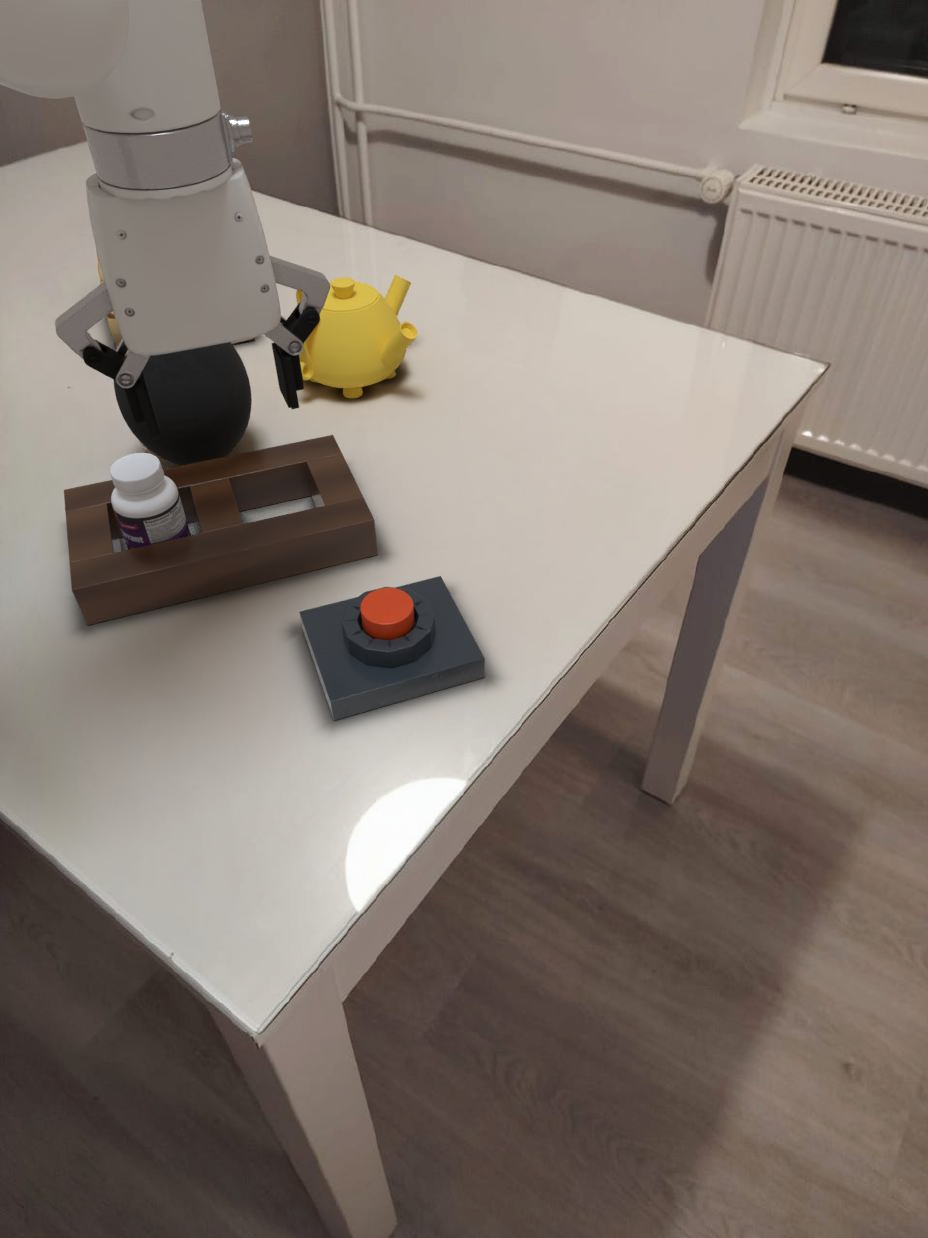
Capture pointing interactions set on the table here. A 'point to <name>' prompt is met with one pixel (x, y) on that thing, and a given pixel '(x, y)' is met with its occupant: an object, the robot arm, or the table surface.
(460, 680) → the dark grey flat piece
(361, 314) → the teapot
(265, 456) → the dock
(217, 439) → the decorative egg
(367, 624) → the button
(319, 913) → the table surface
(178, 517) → the pill bottle
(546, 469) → the table surface
